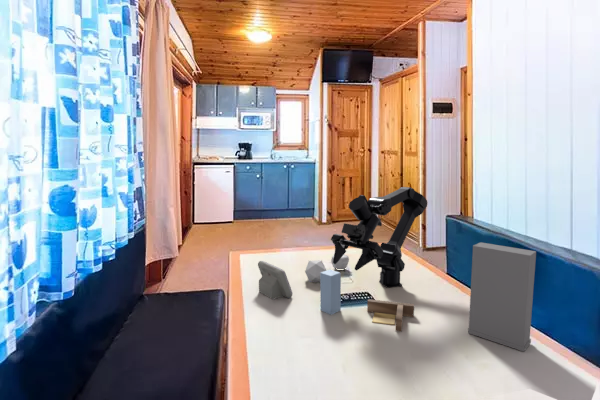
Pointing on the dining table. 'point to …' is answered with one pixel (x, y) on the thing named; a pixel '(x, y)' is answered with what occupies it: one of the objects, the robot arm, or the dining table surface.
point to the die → (314, 270)
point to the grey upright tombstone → (502, 294)
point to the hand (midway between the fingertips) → (344, 266)
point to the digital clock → (273, 281)
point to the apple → (341, 262)
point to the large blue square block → (330, 291)
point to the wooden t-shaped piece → (390, 312)
